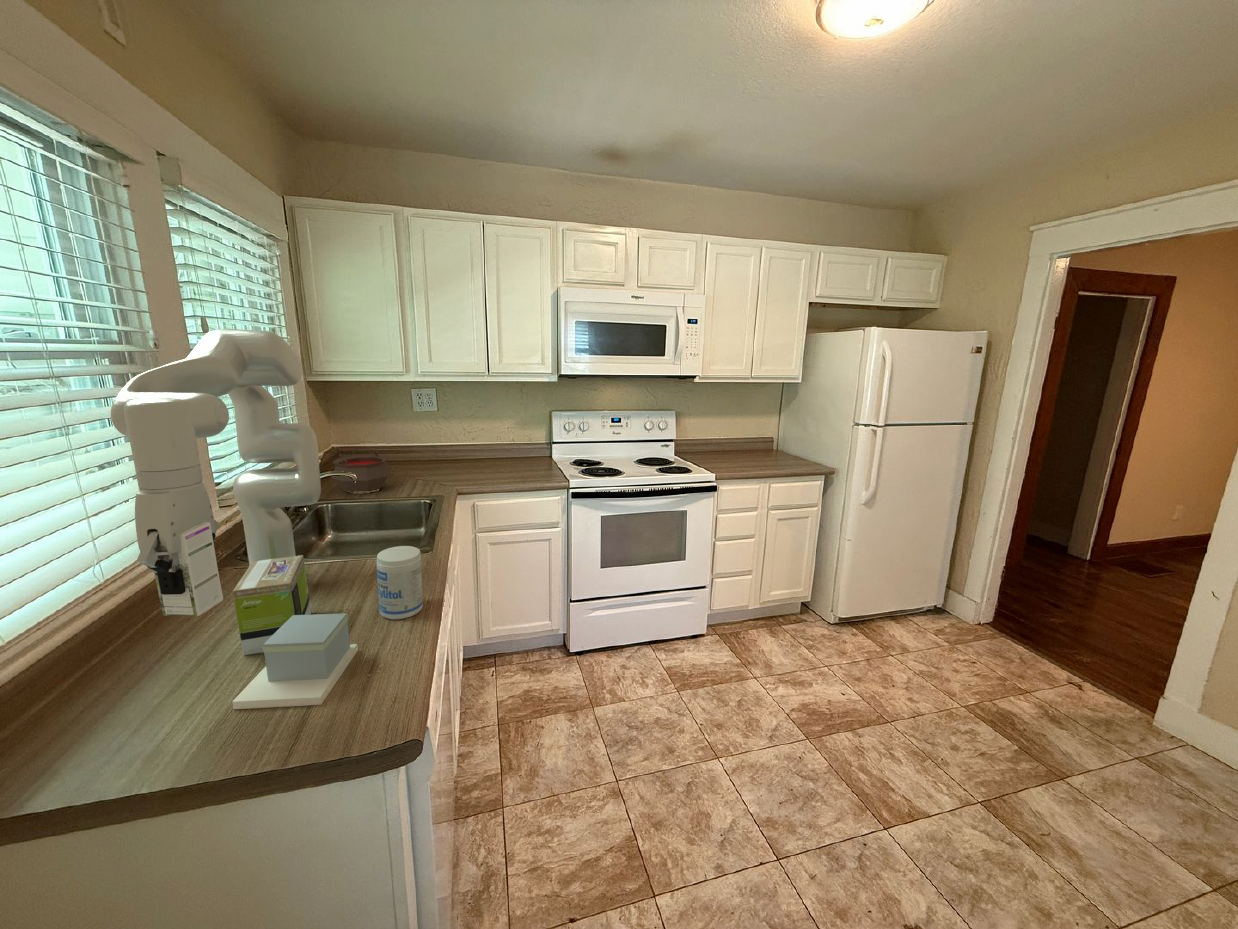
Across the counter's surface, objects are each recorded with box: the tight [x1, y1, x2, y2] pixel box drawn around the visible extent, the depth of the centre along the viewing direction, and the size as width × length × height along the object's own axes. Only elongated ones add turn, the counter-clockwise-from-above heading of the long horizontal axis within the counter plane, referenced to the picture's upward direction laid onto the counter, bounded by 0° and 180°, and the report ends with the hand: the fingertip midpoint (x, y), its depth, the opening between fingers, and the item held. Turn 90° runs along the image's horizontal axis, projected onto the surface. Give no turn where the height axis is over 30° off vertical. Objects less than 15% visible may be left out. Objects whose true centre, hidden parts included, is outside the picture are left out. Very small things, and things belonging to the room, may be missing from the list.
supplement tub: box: [376, 545, 424, 620], centre depth 115 cm, size 10×10×15 cm
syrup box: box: [154, 522, 224, 617], centre depth 79 cm, size 6×6×14 cm
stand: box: [231, 613, 359, 710], centre depth 91 cm, size 16×14×9 cm
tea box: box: [232, 554, 312, 656], centre depth 104 cm, size 15×10×15 cm
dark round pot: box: [330, 449, 393, 492], centre depth 212 cm, size 24×24×16 cm
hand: (189, 582), depth 80 cm, fingers closed on syrup box, 6 cm apart
